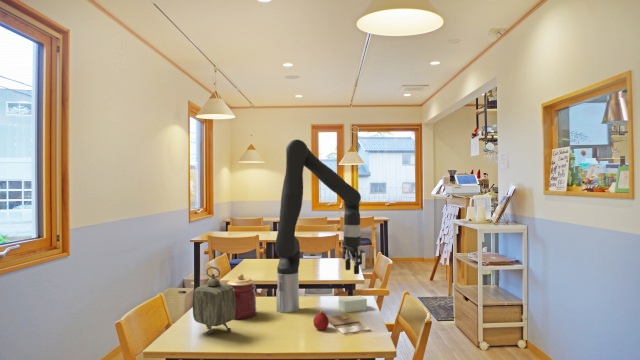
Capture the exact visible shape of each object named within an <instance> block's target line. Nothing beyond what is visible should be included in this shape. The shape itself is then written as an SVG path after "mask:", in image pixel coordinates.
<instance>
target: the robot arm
mask: <svg viewBox="0 0 640 360" xmlns="http://www.w3.org/2000/svg"><path fill="white" fill-rule="evenodd" d="M285 149H286V150H285V153H286V157H285V159H286V163H285V164H286V165H285V174H284V179H283V184H282V190H281V197H280V198H281V199H280V210H279V223H278V231H277V234H276V240H275V243H274V250H275V253H276V254H277V256H278V257H279V260H278V264H277V266H276V267H277V271H276V273H277V276H276V277H277V289H275V292H276V295H275V296H276V298H275V299H276V312H277V313H278V312H279V313H280V314H281V313H282V314H283V313H286V314H287V313H288V314H290V313H296V312H298V311H299V310H300V298H299V296H300V295H299V294H300V292H299V291H300V290H299V289H300V287H299V283H300V282H299V281H300V278H299V267H300V261H301V260H300V255H301V254H300V253H301V252H300V249H301V246H300V242H299V240H298V238H297V236H296V235H295V234H296V227H297V222H298V219H299V218H300V214H301V210H302V206H303V200H304V199H303V198H304V197H303V196H304V176H303V175H304V174H303V173H304V167H305V168H306V169H308V170H309V171H310V172H311V173H312V174H313V175H314V176H315V177H316V178H317V179H318V180H319V181H320V182H321V183H322V184H324V185H325V186H326V187H327V188H328V189H330V191H332V192H333V193H335V194H336V195H337V196H338V197H339V198H340V199H341V200H342V201H343V204H344V205H343V206H344V207H343V208H344V215H343V216H344V217H343V247H342V260H344V262H345V264H344V265H345V271H351V267H352V266H351V261H352V262H353V274H354V275H359V274H360V266H361V265H363V251H362V250H361V249H360V250H359V247H360V246H361V245H362V243H361V242H362V238H361V237H362V232H361V231H362V230H361V213H360V202H361V199H362V195H361V193H360V192H359V191H358V190H357V189H356V188H354V187H353V186H352V185H350V184H349V183H348V182H347V181H345V180H344V178H342V177H341V176H340V175H339V174H338V173H336V171H334V170H333V169H332V168H330V167H329V166H328V165H326V164H325V163H323V162H322V160H320V159H319V158H318V157H317V156H315V154H314V153H313V152H312V151H311V150H310V149H309V148H308V145H307V144H306V143H305V142H304V141H303V140H300V139H292V140H291V141H289V142H288V143H287V146H286V148H285Z"/></svg>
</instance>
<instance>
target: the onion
mask: <svg viewBox="0 0 640 360" xmlns="http://www.w3.org/2000/svg"><path fill="white" fill-rule="evenodd" d="M328 317H329V316H327V314H326V313H324V312H323V311H322V310H319V311H318V313H317V314H316V315H315V316H314V318H313V320H312V321H313V326H314V328H315V329H317V330H318V331H325V330H326V329H327V328H328V327H329V325H330V323H329V320H328Z"/></svg>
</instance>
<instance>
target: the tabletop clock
mask: <svg viewBox="0 0 640 360" xmlns="http://www.w3.org/2000/svg"><path fill="white" fill-rule="evenodd" d="M211 269H212V270H213V269H214V270H216V271H217V272H218V275H216V274H215V273H212V274H211V275H210V274H209V273H208V271H209V270H211ZM205 271H206V275H207V277H210V278H209V279H208V280H207V281H206V284H205V285H201V286H198V287H196V288H195V289H194V290H193V293H192V317H193V321H195V322H196V323H199V324H201V325H205V326H206V327H207V328H208V330H207V334H208V335H211V334H212V333H213V330H212V327H219V326H221V325H222V326H224V327H225V328H226V332H227V333H231V331H232V328H230V327H228V325H227V323H229V322H231V321H233V320H235V319H234V316H235V293H234V289H233V287H231V286H230V285H228V284H227V283H222V282H221V281H220V280H219V279H218V278H219V277H220V275H221V271H220V270H219V268H217V267H216V266H209V267H207V268H206V270H205Z"/></svg>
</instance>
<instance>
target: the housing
mask: <svg viewBox="0 0 640 360" xmlns="http://www.w3.org/2000/svg"><path fill="white" fill-rule="evenodd" d="M338 309H339V310H341V311H342V312H343V313H350V312H356V311H364V310H365V311H366V310H368V298H366V297H364V296H362V295H354V296H348V297H347V296H346V297H339V298H338Z"/></svg>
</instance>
